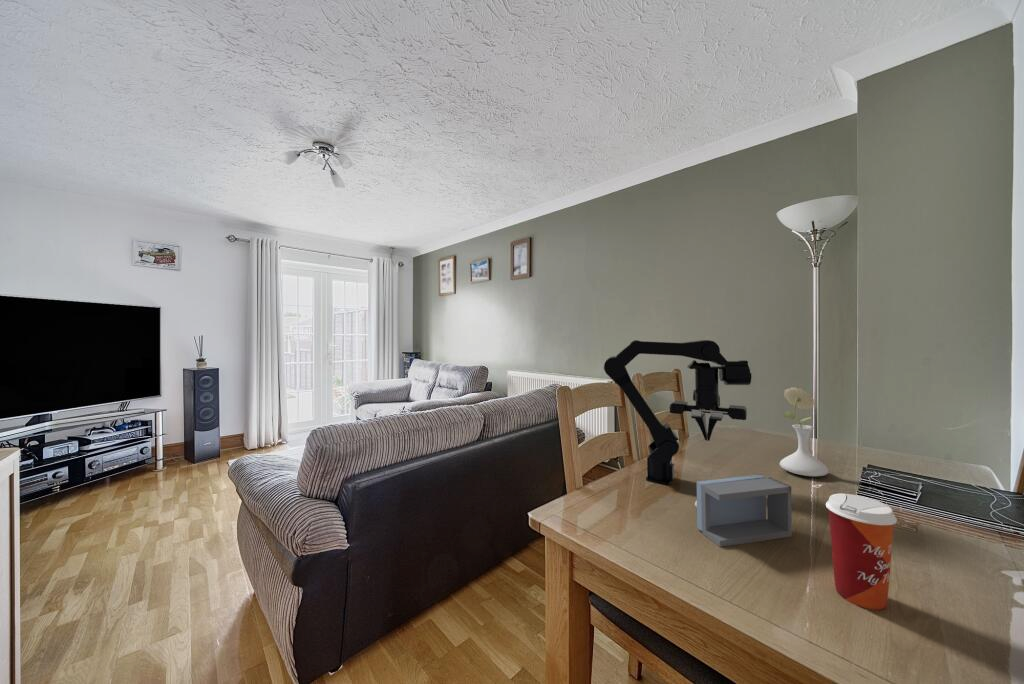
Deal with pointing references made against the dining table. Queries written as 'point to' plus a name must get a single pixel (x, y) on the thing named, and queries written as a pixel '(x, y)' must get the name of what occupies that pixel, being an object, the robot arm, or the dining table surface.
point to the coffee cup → (861, 548)
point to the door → (731, 506)
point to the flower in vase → (802, 439)
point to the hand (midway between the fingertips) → (707, 440)
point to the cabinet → (755, 530)
